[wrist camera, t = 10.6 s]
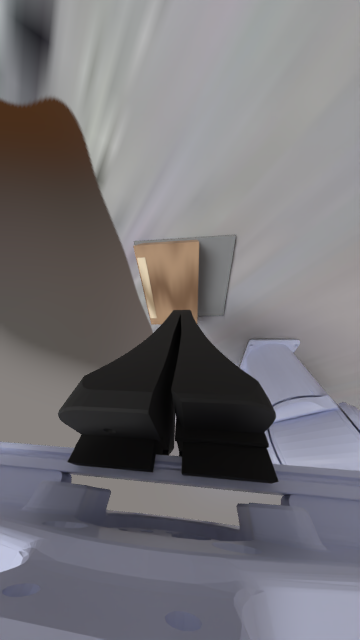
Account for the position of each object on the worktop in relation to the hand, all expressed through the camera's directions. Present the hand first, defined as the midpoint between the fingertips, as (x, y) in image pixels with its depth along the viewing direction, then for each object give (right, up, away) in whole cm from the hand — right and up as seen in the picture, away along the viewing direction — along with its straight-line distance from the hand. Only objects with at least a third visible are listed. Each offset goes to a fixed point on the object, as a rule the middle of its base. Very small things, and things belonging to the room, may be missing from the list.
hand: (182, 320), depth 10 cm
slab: (+2, +4, +5) cm, 7 cm away
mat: (0, +5, +7) cm, 9 cm away
